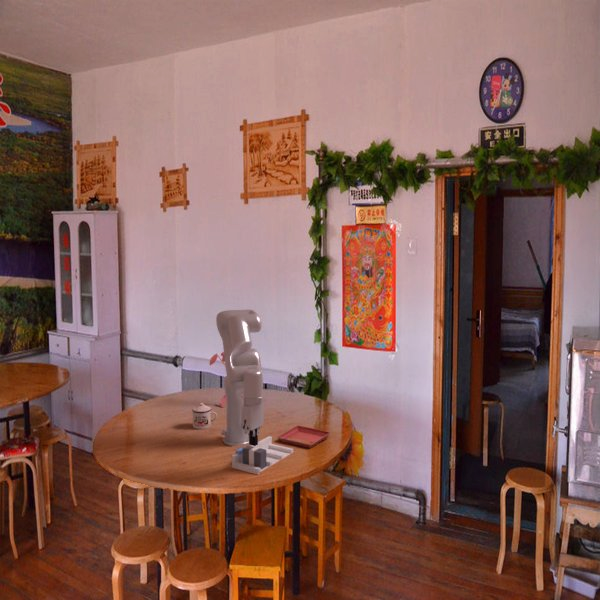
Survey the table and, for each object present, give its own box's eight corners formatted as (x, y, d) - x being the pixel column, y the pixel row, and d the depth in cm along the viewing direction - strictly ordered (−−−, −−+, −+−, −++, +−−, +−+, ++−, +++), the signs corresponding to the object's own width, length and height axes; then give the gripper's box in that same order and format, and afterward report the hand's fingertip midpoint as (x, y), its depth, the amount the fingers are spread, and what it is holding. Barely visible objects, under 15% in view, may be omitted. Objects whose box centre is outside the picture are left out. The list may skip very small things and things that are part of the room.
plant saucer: (311, 451, 258) (311, 444, 258) (276, 443, 268) (276, 436, 267) (330, 439, 274) (330, 432, 273) (297, 431, 283) (297, 425, 283)
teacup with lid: (191, 429, 285) (191, 406, 283) (193, 423, 294) (192, 400, 292) (216, 429, 286) (216, 405, 284) (217, 423, 295) (217, 400, 293)
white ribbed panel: (231, 467, 240) (231, 452, 240) (268, 446, 263) (268, 433, 262) (258, 474, 234) (257, 459, 233) (293, 452, 256) (293, 439, 255)
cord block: (242, 465, 241) (242, 448, 241) (248, 461, 245) (248, 445, 244) (260, 470, 237) (260, 452, 236) (266, 466, 240) (266, 449, 239)
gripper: (256, 394, 246) (256, 437, 248) (233, 403, 233) (234, 448, 235) (271, 397, 242) (271, 440, 244) (249, 406, 229) (250, 452, 231)
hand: (253, 444), depth 240 cm, fingers closed
